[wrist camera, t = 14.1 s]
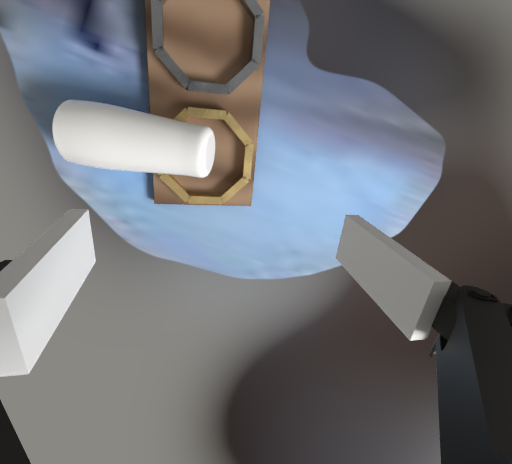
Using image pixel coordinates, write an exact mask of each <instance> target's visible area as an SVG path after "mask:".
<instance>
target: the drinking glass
mask: <svg viewBox="0 0 512 464" xmlns="http://www.w3.org/2000/svg"><path fill="white" fill-rule="evenodd" d="M52 133H53V139H54V142H55V145H56V147H57V149H58V151H59V153H60V154H61V155H62V157H63V158H65V159H66V160H67V161H69V162H71V163H75V164H79V165H84V166H89V167H94V168H100V169H108V170H118V171H132V172H146V173H160V174H173V175H184V176H192V177H198V178H204V177H206V176H208V175H209V173H210V171H211V169H212V166H213V162H214V157H215V136H214V132H213V130H212V129H211V128H210V127H208V126H205V125H199V124H192V123H187V122H183V121H179V120H174V119H170V118H166V117H162V116H158V115H153V114H149V113H145V112H141V111H137V110H133V109H129V108H125V107H120V106H116V105H111V104H106V103H100V102H93V101H84V100H73V99H71V100H67V101H65V102H63V103H62V104H61V105H60V106H59V107H58V108H57V110H56V112H55V114H54V118H53V123H52Z"/></svg>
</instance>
